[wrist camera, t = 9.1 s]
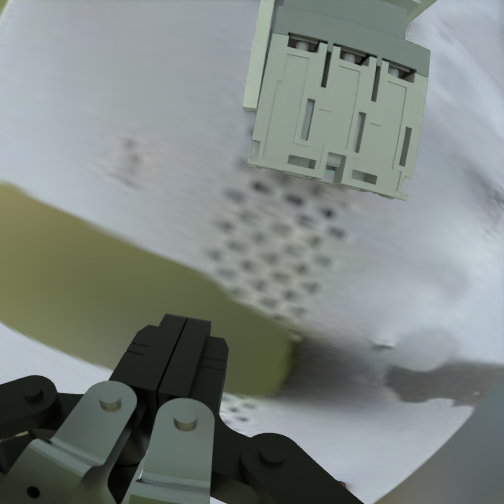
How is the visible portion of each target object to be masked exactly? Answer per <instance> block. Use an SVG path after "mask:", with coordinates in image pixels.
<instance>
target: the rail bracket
mask: <svg viewBox="0 0 504 504" xmlns="http://www.w3.org/2000/svg"><path fill="white" fill-rule="evenodd" d="M382 1H385V2H388V3H390V4H393V5H396V6H398V7H401V8H403V9H406V10H407V12H406V25H407V24H409V23H410V22H411V21H412V20H414V19H415V18H416V17H417V16H418V15H420V14H421V13H422V12H423V11H425V10H426V9H427V8H428V7H430V6H431V5H432V4H433V3H435V2H436V1H437V0H382ZM275 4H276V0H260V6H259V11H258V16H257V22H256V27H255V33H254V39H253V44H252V50H251V56H250V62H249V68H248V74H247V80H246V86H245V92H244V98H243V105H242V107H243V108H244V110H248V111H255V112H257V110H258V105H259V99H260V94H261V88H262V82H263V76H264V70H265V63H266V57H267V51H268V45H269V39H270V33H271V27H272V21H273V15H274V9H275Z"/></svg>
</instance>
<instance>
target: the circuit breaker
mask: <svg viewBox="0 0 504 504" xmlns="http://www.w3.org/2000/svg"><path fill="white" fill-rule="evenodd" d="M406 12H407V10H406V9H403V8H401V7H398V6H396V5H393V4H390V3H388V2H385V1H382V0H284V3H283V6H281V5H279V7H278V11H277V16H276V21H275V25H274V30H273V35H272V40H271V45H270V49H269V54H268V59H267V64H266V69H265V74H264V79H263V84H262V89H261V94H260V99H259V105H258V110H257V115H256V120H255V125H254V131H253V136H252V140H253V141H254V142H253V147H252V152H251V158H248V163H247V164H249V167H251V168H259V169H261V167H262V168H267V169H272V170H277V171H282V173H283V174H288V175H292V176H297V177H302V178H306V179H311V180H316V181H320V182H324V183H329V184H333V185H337V186H341V187H345V188H349V189H353V190H357V191H361V192H372V193H375V194H378V195H380V196H382V197H385V198H388V199H394V198H397V199H400V200H405V201H406V200H407V196H408V195H404V194H401V190H402V186H403V182H404V177H406V178H410V179H412V174H413V170H414V165H415V160H416V155H417V150H418V144H419V139H420V133H421V127H422V121H423V114H424V107H425V100H426V92H427V83H428V73H429V62H430V50H428V49H426V48H424V47H421V46H419V45H417V44H414V43H412V42H410V41H407V40H405V30H406Z"/></svg>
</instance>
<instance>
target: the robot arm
mask: <svg viewBox="0 0 504 504" xmlns="http://www.w3.org/2000/svg"><path fill="white" fill-rule="evenodd" d="M210 331H211V321H206V320H201V319H195V318H190V317H189V318H188V317H184V316H178V315H173V314H167V313H166V314H165V316H164V318H163V319H162V321H161V323H160V325H159V327H157V326H152V325H148V326H146V327H145V328H143V329H142V330H140V331H139V332H137V334H136V336H135V337H134V339H133V340H132V343H131V344H130V345H129V347H128V348H127V352H125V354H124V355H123V357H122V358H121V360H120V362H119V363H118V365H117V367H116V368H115V370H114V372H113V373H112V375H111V377H110V378H109V380H108V381H103V382H99V383H97V384H95V385H93V386H92V387H90V388H89V389H88V390H87V392H86V393H85V394H68V393H57V390H56V387H55V385H54V383H53V382H52V381H51V380H49V379H48V378H46V377H43V376H39V375H31V376H26V377H23V378H20V379H17V380H14V381H11V382H7V383H4V384H1V385H0V440H1V439H5V438H8V437H11V436H14V435H17V434H20V433H23V432H26V431H28V434H25V435H22V436H19V437H16V438H13V439H10V440H7V441H4V442H0V504H210V496H211V497H213V498H215V499H217V500H220V501H222V502H224V503H227V504H364V503H363V502H361V501H360V500H359V499H358V498H357V497H355V496H354V495H353V494H352V493H351V492H349V491H348V490H347V489H346V488H345V487H344V486H342V485H341V484H340V483H339V482H338V481H337V480H335V479H334V478H333V477H332V476H331V475H330V474H329V473H328V472H326V471H325V470H324V469H323V468H322V467H321V466H320V465H319V464H318V463H317V462H315V461H314V460H313V459H312V458H311V457H310V456H309V455H308V454H307V453H306V452H305V451H304V450H303V449H302V448H300V447H299V446H298V445H297V444H296V443H295V442H294V441H293V440H291V439H290V438H288V437H286V436H284V435H281V434H276V433H262V434H258V435H255V436H253V437H251V438H250V437H248V436H245V435H243V434H240V433H238V432H236V431H234V430H232V429H230V428H229V427H228V426H227V425H226V424H225V423H224V422H223V421H222V419H221V418H220V415H219V411H220V405H221V400H222V394H223V388H224V382H225V374H226V367H227V359H228V351H229V349H228V346H227V344H226V342H225V339H224V338H218V337H212V336H210ZM147 450H148V451H147ZM146 453H147V454H146ZM142 470H143V472H142ZM141 472H142V475H141V478H140V479H139V477H140V474H141ZM128 502H129V503H128Z"/></svg>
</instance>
